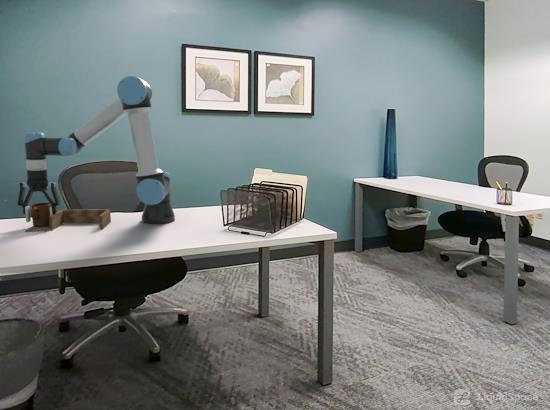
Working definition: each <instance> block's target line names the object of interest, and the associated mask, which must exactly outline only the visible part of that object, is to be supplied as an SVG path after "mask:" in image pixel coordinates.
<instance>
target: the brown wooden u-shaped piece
mask: <svg viewBox="0 0 550 410" xmlns="http://www.w3.org/2000/svg"><path fill="white" fill-rule="evenodd" d="M111 216H112V215H111V208H104V209H103V208H102V209H100V208H99V209H98V208H97V209H96V208H95V209H88V208H87V209H60V210H57V211H56V214H53V215H51V216H49V225H50V230H49V231H55V230H56V229H57V228H59V227H61V226H62V225H64V224H90V223H91V224H94V223H97V224H98V223H99V230H101V231H102V230H104V229H105V228H106V227H108V225H109V224H111V222H112V220H111Z"/></svg>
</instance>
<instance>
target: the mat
mask: <svg viewBox="0 0 550 410" xmlns="http://www.w3.org/2000/svg"><path fill="white" fill-rule="evenodd" d="M49 231H51V230H50V226H46V227H35V226H33V225H32V226H31V227H28V228H27V229H25V233H31V232H33V233H34V232H49Z"/></svg>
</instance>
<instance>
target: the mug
mask: <svg viewBox="0 0 550 410" xmlns="http://www.w3.org/2000/svg"><path fill="white" fill-rule="evenodd" d="M50 207H51V204H50V203H49V202H40V203H39V202H38V203H33V204H31V208H30V217H31V219H32V226H35V227H46V226H50V225H49V216H50Z"/></svg>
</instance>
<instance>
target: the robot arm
mask: <svg viewBox="0 0 550 410" xmlns="http://www.w3.org/2000/svg"><path fill="white" fill-rule="evenodd" d="M116 93H117V96H118V98H117V99H115V100H114V101H113V102H111V103H110V104H109V105H107V106H106V107H105V108H104V109H102V110H101V111H99V112H98V113H97V114H96V115H94V116H93V117H92V118H90V119H89V120H88V121H86V122H85V123H83V124H82V125H81V126H79V127H78V128H76V129H75V130H74V131H73V132H72V133H70V134H69V135H68V136H65V137H47V136H45V133H44V132H25V134H24V136H23V137H24V138H23V139H24V142H23V145H24V152H25V165H26V166H25V167H26V169H27V170H26V177H27V181H26V182H24V181H23V182H19V193H18V199H17V205H18V206H20V207H22V213H23V214H24V215H25V222H26V223H30V222H31V219H32V217H31V208H30V207H31V206H30V205H29V203H30V201H31V199H32V197H33V194H34V193H35V192H41V193H42V194H43V195H44V196H45V198H46V200H47V201H48V203H50V204H51V207H50V216H51V215H53V214H56V212H57V206H60V205H61V200H60V195H59V194H58V191H57V188H56V187H57V182H55V181H54V182H50V181H49V180H48V170H47V168H48V167H47V156H54V157H55V156H56V157H57V156H60V157H70V156H71V157H72V156H73V157H74V156H75V155H76V154H77V153H79V152H81V150H82V149H83V148H84V147H85V146H87V145H88V144H90V143H91V142H92V141H93V140H95V139H96V138H97V137H98V136H100V135H101V134H103V133H104V132H105V131H107V130H108V129H109V128H111V127H112V126H114V125H115V124H116V123H117V122H119V121H120V120H122V119H123V118H124V117H126V116H128V117H127V118H128V123H129V128H130V133H131V138H132V139H131V140H132V144H133V150H134V154H135V160H136V167H137V172H136V174H135V179H136V185H137V186H136V192H135V193H136V196H137V198H138V200H139V201H140V202H141V203H143V204H144V208H143V211H142V215H141V222H142V223H145V224H166V223H167V224H168V223H170V222H171V223H172V222H174V221H175V220H176V218H175V217H176V216H175V213H174V210H173V206H172V205H171V204H172V203H171V175H170V173H169V172H167V171H166V172H165V171H163V170H162V169H161V168H159V161H158V157H157V152H156V146H155V140H154V134H153V129H152V123H151V117H150V111H151V110H152V102H151V99H152V97H153V91H152V87H151V86H150V84H149V83H148V82H147V81H146V80H144V79H143V78H141V77H139V76H136V75H127V76H125V77H123V78H122V79H120V81H118V84H117V88H116ZM27 186H28V187H29V189H28V191H27V194H26V189H27ZM48 186H49V188H50V191H51V193H50V192H49V190H48V188H47V187H48ZM51 194H52V195H51ZM25 195H26V196H25Z"/></svg>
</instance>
